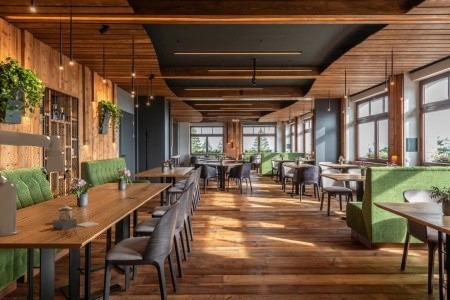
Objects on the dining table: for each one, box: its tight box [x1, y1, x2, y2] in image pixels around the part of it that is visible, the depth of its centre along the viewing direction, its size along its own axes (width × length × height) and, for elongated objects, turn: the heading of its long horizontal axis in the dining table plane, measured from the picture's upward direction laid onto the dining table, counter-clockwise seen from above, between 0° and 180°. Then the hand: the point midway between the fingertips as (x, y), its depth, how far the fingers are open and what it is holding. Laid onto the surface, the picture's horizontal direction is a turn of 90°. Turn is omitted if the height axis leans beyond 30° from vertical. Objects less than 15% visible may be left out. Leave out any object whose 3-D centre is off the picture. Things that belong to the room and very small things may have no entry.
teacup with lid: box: [57, 204, 78, 219], centre depth 249 cm, size 12×9×12 cm
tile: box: [77, 221, 100, 228], centre depth 237 cm, size 10×10×1 cm
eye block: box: [52, 218, 78, 231], centre depth 231 cm, size 10×10×5 cm
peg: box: [61, 208, 69, 221], centre depth 231 cm, size 5×5×12 cm
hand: (56, 180), depth 233 cm, fingers open, 9 cm apart
